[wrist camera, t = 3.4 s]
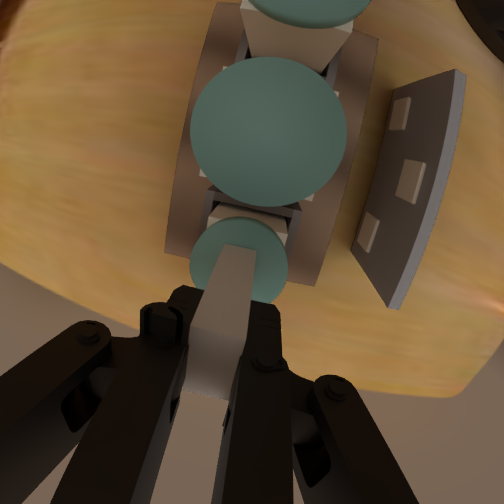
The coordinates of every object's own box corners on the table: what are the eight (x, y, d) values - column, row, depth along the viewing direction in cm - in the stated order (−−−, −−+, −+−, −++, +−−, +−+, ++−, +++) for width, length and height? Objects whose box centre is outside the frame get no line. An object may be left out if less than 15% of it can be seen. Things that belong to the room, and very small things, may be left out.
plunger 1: (225, 184, 22) (197, 211, 13) (288, 198, 22) (299, 234, 13) (214, 242, 23) (184, 299, 15) (273, 256, 23) (273, 320, 15)
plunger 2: (261, 5, 13) (253, -79, 5) (336, 23, 13) (380, -50, 5) (245, 67, 15) (221, 4, 7) (322, 85, 15) (369, 37, 7)
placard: (391, 88, 18) (451, 66, 10) (402, 93, 18) (466, 75, 10) (347, 250, 23) (384, 307, 15) (359, 252, 23) (398, 310, 15)
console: (221, 12, 17) (206, -23, 11) (370, 46, 17) (399, 21, 11) (172, 243, 24) (145, 274, 18) (311, 275, 24) (322, 314, 19)
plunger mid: (238, 92, 16) (208, 45, 7) (316, 109, 16) (360, 80, 7) (222, 166, 17) (177, 189, 9) (298, 183, 18) (325, 222, 9)
